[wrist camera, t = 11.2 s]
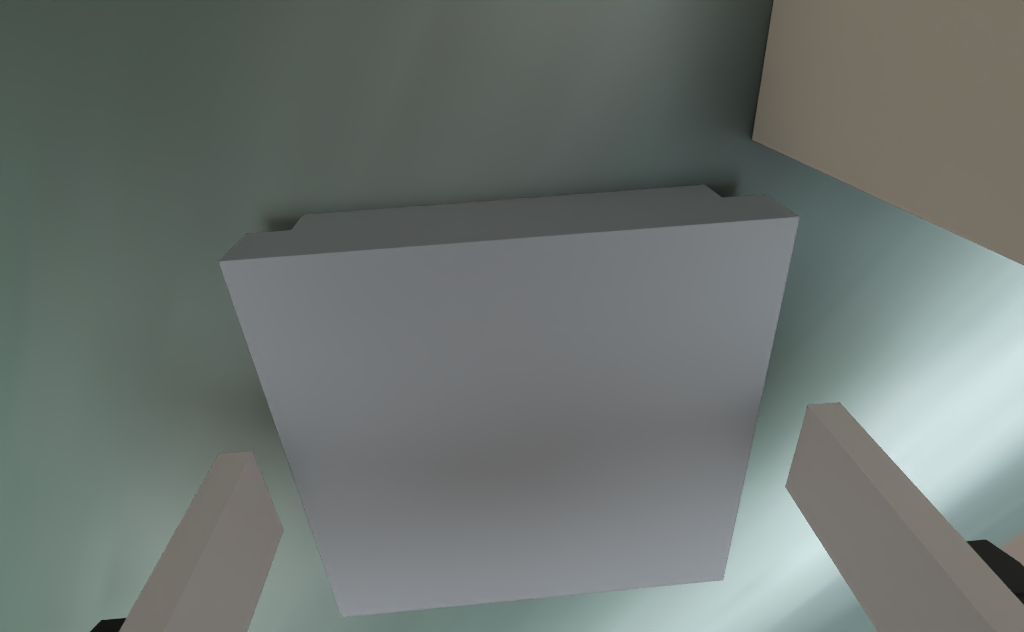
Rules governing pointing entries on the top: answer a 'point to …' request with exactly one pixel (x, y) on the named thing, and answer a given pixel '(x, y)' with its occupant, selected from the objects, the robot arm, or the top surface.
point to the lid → (517, 387)
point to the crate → (906, 106)
